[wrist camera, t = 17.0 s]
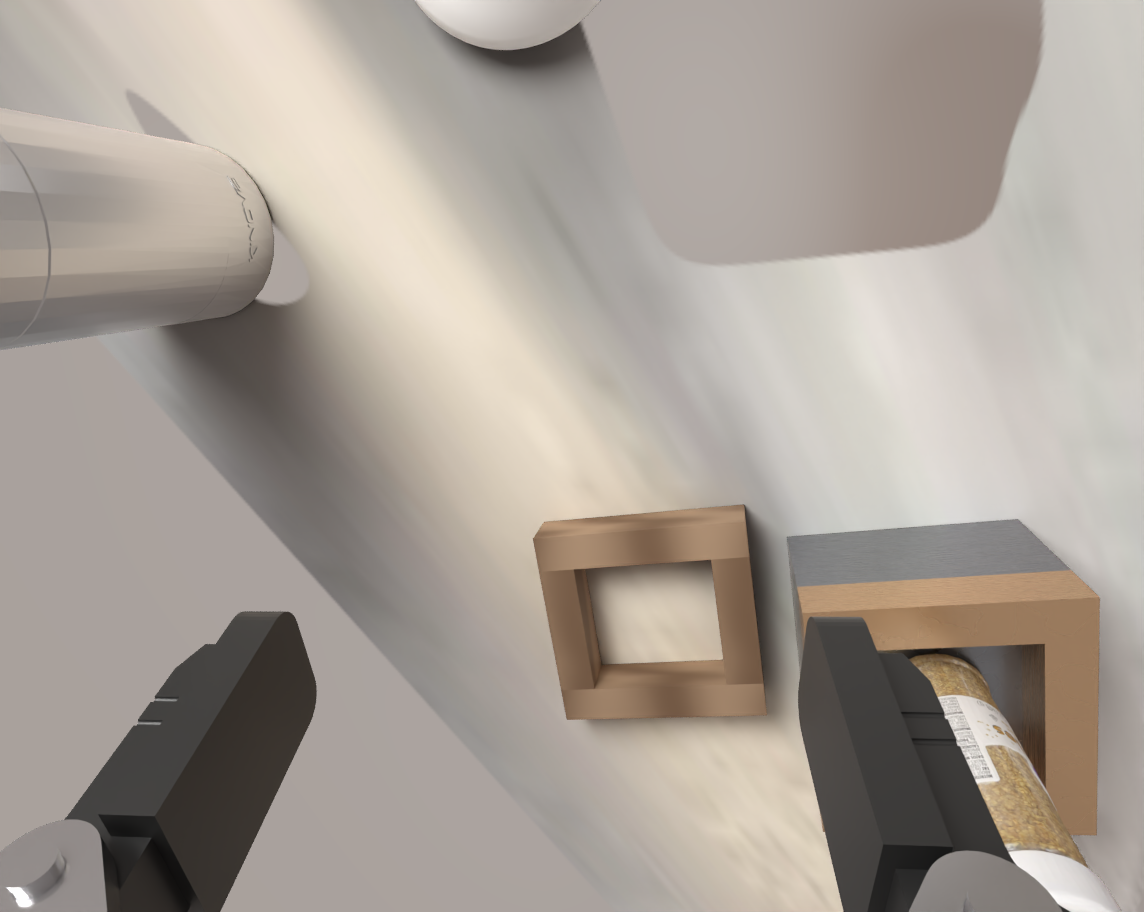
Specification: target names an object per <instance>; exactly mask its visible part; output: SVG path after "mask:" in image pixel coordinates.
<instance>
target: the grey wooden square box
mask: <svg viewBox="0 0 1144 912" xmlns="http://www.w3.org/2000/svg"><path fill="white" fill-rule="evenodd" d="M787 544H788V554H789V564H790V574H791V585H792V595H793V605H794V615H795V626H796V636H797V646H798V656H799V667H800V674H801V666H802V658H803V650H804V642H805V634H806V626H807V621H808V619H809V617H862V618H863V619H864V620H865V622H866V624H867V626H868V629H869V632H870V634H871V637H872V639H873V642H874V644H875V647H876V649H877V652H878V653H903V654H904V655H905V656H906V657H907V658H908V659H910V658H912V657H914V656H919V655H925V654H946V655H951V656H953V657H958V658H960V659H962V660H964V661H965V662H967V663H969V664H970V665H972V666H973V667H974V668H976V669H977V670H978V671H979V672H980V674H981V675H982V676H983V677H984V679H985V680H986V682H987V684H988V686H989V688H990V693H991V696H992V699H993V700H994V702H995V704H996V705H997V707H998V709H999V710H1000V712H1001V714H1002V715H1003V716H1004V717H1005V719H1006V720H1007V722H1008V723H1009V725H1010V727H1011V728H1012V730H1013V732H1014V734H1015V736H1016V737H1017V739H1018V741H1019V743H1020V744H1021V746H1022V748H1023V750H1024V752H1025V753H1026V755H1027V757H1028V758H1029V760H1030V762H1031V763H1032V765H1033V767H1034V769H1035V771H1036V772H1037V774H1038V776H1039V778H1040V780H1041V782H1042V783H1043V785H1044V787H1045V788H1046V790H1047V792H1048V794H1049V796H1050V798H1051V800H1052V802H1053V804H1054V806H1055V808H1056V810H1057V812H1058V814H1059V816H1060V818H1061V820H1062V822H1063V823H1064V825H1065V827H1066V829H1067V830H1068V832H1069V834H1070V835H1097V761H1098V684H1099V606H1100V597H1099V596H1098V595H1097V594H1096V593H1095V592H1094V591H1092V590H1091V589H1090V588H1089V587H1088V586H1087V585H1086V584H1085V583H1084V582H1083V581H1082V580H1081V579H1080V578H1079V577H1078V576H1077V575H1076V574H1075V573H1074V572H1073V571H1071V570H1070V569H1069V568H1068V567H1067V566H1066V565H1065V564H1064V563H1063V562H1062V561H1061V560H1060V559H1059V558H1058V557H1057V556H1056V555H1055V554H1054V553H1053V552H1052V551H1050V550H1049V549H1048V548H1047V547H1046V546H1045V545H1044V544H1043V543H1042V542H1041V541H1040V540H1039V539H1038V538H1037V537H1036V536H1035V535H1034V534H1033V533H1032V532H1031V531H1029V530H1028V529H1027V528H1026V527H1025V526H1024V525H1023V524H1022V523H1021V522H1020V521H1019V520H1018V519H1016V520H1002V521H989V522H976V523H963V524H950V525H937V526H924V527H911V528H898V529H884V530H871V531H858V532H845V533H832V534H819V535H806V536H793V537H787ZM820 816H821V813H820ZM821 822H822V828H823V832H825V830H824V825H823V821H822V817H821Z"/></svg>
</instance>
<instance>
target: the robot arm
mask: <svg viewBox="0 0 1144 912" xmlns="http://www.w3.org/2000/svg"><path fill="white" fill-rule="evenodd" d="M273 254H274V235H273V228H272V222H271V217H270V214H269V212H268V209H267V206H266V203H265V200H264V198H263V197H262V195H261V193H260V191H259V189H258V188H257V186H256V184H255V183H254V181H253V180H252V179H251V178H250V177H249V175H248V174H247V173H246V172H245V170H244V169H243V168H242V167H240V166H239V165H238V164H237V163H236V162H234V161H233V160H232V159H231V158H230V157H228V156H226V155H224V154H223V153H221V152H219V151H217V150H215V149H213V148H210V147H206V146H202V145H198V144H194V143H188V142H183V141H177V140H172V139H166V138H161V137H156V136H151V135H146V134H142V133H136V132H131V131H125V130H120V129H114V128H109V127H103V126H98V125H92V124H87V123H82V122H76V121H71V120H65V119H60V118H54V117H49V116H43V115H38V114H32V113H27V112H21V111H16V110H11V109H5V108H0V350H6V349H12V348H19V347H26V346H32V345H39V344H46V343H52V342H59V341H65V340H72V339H79V338H86V337H93V336H99V335H106V334H113V333H119V332H126V331H133V330H139V329H146V328H153V327H159V326H166V325H175V324H181V323H187V322H194V321H200V320H206V319H212V318H219V317H225V316H229V315H231V314H233V313H236V312H238V311H240V310H242V309H243V308H244V307H246V306H247V305H248V304H250V303H251V302H252V301H253V300H254V299H255V298H256V296H257V295H258V294H259V292H260V291H261V290H262V288H263V287H264V284H265V282H266V280H267V278H268V276H269V274H270V270H271V265H272V261H273V256H274V255H273ZM315 704H316V681H315V677H314V674H313V671H312V668H311V665H310V662H309V658H308V656H307V652H306V649H305V646H304V643H303V640H302V637H301V633H300V630H299V627H298V624H297V621H296V619H295V617H294V615H292V614H291V613H290V612H241V613H239V614H238V615H237V616H235V618H234V619H233V620H232V621H231V623H230V624H229V626H228V627H227V629H226V630H225V631H224V633H223V634H222V636H221V637H220V639H219V640H218V642H217V643H216V644H205V645H204V646H203V647H202V648H200V649H199V650H198V651H196V652H195V653H194V654H193V655H192V656H190V657H189V658H188V659H187V660H185V661H184V662H183V663H182V664H180V665H179V666H178V667H177V668H175V670H174V671H173V672H172V674H171V675H170V676H169V678H168V679H167V681H166V682H165V683H164V685H163V686H162V687H161V689H160V690H159V692H158V693H157V694H156V696H155V701H154V702H150V704H149V705H148V707H147V708H146V710H145V711H144V712H143V713H142V715H141V716H140V718H139V719H138V724H137V726H133V727H132V729H131V730H130V731H129V733H128V734H127V736H126V737H125V738H124V740H123V741H122V742H121V744H120V745H119V746H118V748H117V749H116V751H115V752H114V753H113V755H112V756H111V758H110V759H109V760H108V762H107V763H106V764H105V766H104V767H103V768H102V770H101V771H100V772H99V774H98V775H97V776H96V778H95V779H94V781H93V782H92V783H91V785H90V786H89V787H88V789H87V790H86V792H85V793H84V794H83V796H82V797H81V798H80V800H79V801H78V803H77V804H76V805H75V807H74V808H73V809H72V811H71V812H70V813H69V815H68V816H67V817H66V818H65V820H61V821H56V822H53V823H49V824H46V825H43V826H41V827H39V828H36V829H34V830H32V831H30V832H28V833H26V834H25V835H23V836H21V837H20V838H18V839H17V840H15V841H14V842H12V843H11V844H10V845H8V846H7V847H6V848H4V849H3V850H2V851H1V852H0V912H220V911H221V909H222V907H223V905H224V903H225V900H226V898H227V896H228V894H229V892H230V890H231V888H232V886H233V884H234V881H235V879H236V877H237V875H238V873H239V871H240V869H241V867H242V865H243V863H244V860H245V858H246V856H247V854H248V852H249V850H250V848H251V846H252V844H253V842H254V839H255V837H256V835H257V833H258V831H259V829H260V827H261V825H262V823H263V820H264V818H265V816H266V814H267V812H268V810H269V808H270V806H271V803H272V802H273V800H274V797H275V795H276V793H277V791H278V789H279V787H280V785H281V783H282V781H283V778H284V776H285V774H286V772H287V770H288V768H289V766H290V764H291V762H292V760H293V758H294V755H295V753H296V751H297V749H298V747H299V745H300V742H301V741H302V739H303V736H304V734H305V732H306V730H307V728H308V726H309V724H310V722H311V719H312V717H313V713H314V709H315ZM798 708H799V719H800V726H801V732H802V736H803V741H804V745H805V749H806V753H807V758H808V762H809V766H810V770H811V775H812V779H813V783H814V787H815V792H816V796H817V800H818V804H819V809H820V813H821V817H822V821H823V825H824V830H825V834H826V838H827V842H828V847H829V851H830V855H831V859H832V864H833V868H834V872H835V876H836V881H837V885H838V889H839V893H840V898H841V902H842V906H843V910H844V912H1070V911H1068V910H1067V909H1065V908H1063V907H1062V906H1060V905H1059V904H1057V902H1056V901H1055V899H1054V898H1053V897H1052V896H1051V894H1050V893H1049V892H1048V891H1047V890H1046V889H1045V888H1044V887H1043V886H1042V885H1041V884H1040V883H1039V882H1038V881H1037V880H1036V879H1035V878H1034V877H1032V876H1031V875H1030V874H1028V873H1027V872H1026V871H1024V870H1023V869H1021V868H1020V867H1018V866H1017V865H1016V864H1015V862H1014V861H1013V859H1012V858H1011V856H1010V854H1009V852H1008V850H1007V849H1006V847H1005V844H1004V842H1003V840H1002V838H1001V836H1000V833H999V831H998V829H997V827H996V825H995V822H994V820H993V818H992V816H991V814H990V811H989V809H988V807H987V805H986V803H985V800H984V798H983V796H982V794H981V792H980V789H979V787H978V785H977V783H976V781H975V778H974V776H973V774H972V772H971V770H970V767H969V765H968V763H967V761H966V759H965V756H964V754H963V752H962V750H961V748H960V746H957V739H956V737H955V734H954V732H953V730H952V728H951V726H950V723H949V721H948V719H945V715H944V714H945V712H944V710H943V708H942V706H941V704H940V701H939V699H938V697H937V695H936V693H935V690H934V688H933V686H932V684H931V681H930V680H929V679H928V678H927V677H926V676H925V675H924V674H923V673H922V672H921V671H920V670H919V669H918V668H917V667H916V666H915V665H914V664H913V663H912V662H911V661H910V660H909V659H908V658H907V657H906V656H905V655H904V654H903V653H878V652H877V649H876V647H875V644H874V642H873V639H872V637H871V634H870V632H869V629H868V626H867V624H866V622H865V620H864V619H863V618H862V617H809V619H808V621H807V626H806V634H805V642H804V650H803V658H802V666H801V674H800V682H799V691H798Z"/></svg>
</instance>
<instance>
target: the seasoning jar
mask: <svg viewBox="0 0 1144 912" xmlns="http://www.w3.org/2000/svg"><path fill="white" fill-rule="evenodd" d="M909 660H910V661H911V662H912V663H913V664H914V665H915V666H916V667H917V668H918V669H919V670H920V671H921V672H922V673H923V674H924V675H925V676H926V677H927V678H928V679H929V680H930V681H931V684H932V686H933V688H934V690H935V693H936V695H937V697H938V699H939V701H940V704H941V706H942V708H943V710H944V712H945V714H944V715H945V719H948V721H949V723H950V726H951V728H952V730H953V732H954V734H955V737H956V739H957V746H960V748H961V750H962V752H963V754H964V756H965V759H966V761H967V763H968V765H969V767H970V770H971V772H972V774H973V776H974V778H975V781H976V783H977V785H978V787H979V789H980V792H981V794H982V796H983V798H984V800H985V803H986V805H987V807H988V809H989V811H990V814H991V816H992V818H993V820H994V822H995V825H996V827H997V829H998V831H999V833H1000V836H1001V838H1002V840H1003V842H1004V844H1005V847H1006V849H1007V850H1008V852H1009V854H1010V856H1011V858H1012V859H1013V861H1014V862H1015V864H1016V865H1017V866H1018V867H1020V868H1021V869H1023V870H1024V871H1026V872H1027V873H1028V874H1030V875H1031V876H1032V877H1034V878H1035V879H1036V880H1037V881H1038V882H1039V883H1040V884H1041V885H1042V886H1043V887H1044V888H1045V889H1046V890H1047V891H1048V892H1049V893H1050V894H1051V896H1052V897H1053V898H1054V899H1055V901H1056V902H1057V904H1059V905H1060V906H1062V907H1063V908H1065V909H1067V910H1068V911H1070V912H1122V911H1121V909H1120V907H1119V906H1118V904H1117V902H1116V901H1115V899H1114V897H1113V896H1112V894H1111V892H1110V891H1109V889H1108V888H1107V887H1106V885H1105V884H1104V883H1103V881H1102V880H1101V879H1100V878H1099V877H1098V876H1097V875H1096V874H1095V873H1094V872H1092V871H1091V870H1090V869H1089V868H1088V866H1087V864H1086V862H1085V860H1084V859H1083V857H1082V855H1081V854H1080V852H1079V850H1078V848H1077V846H1076V845H1075V843H1074V842H1073V840H1072V837H1071V836H1070V834H1069V832H1068V830H1067V829H1066V827H1065V825H1064V823H1063V822H1062V820H1061V818H1060V816H1059V814H1058V812H1057V810H1056V808H1055V806H1054V804H1053V802H1052V800H1051V798H1050V796H1049V794H1048V792H1047V790H1046V788H1045V787H1044V785H1043V783H1042V782H1041V780H1040V778H1039V776H1038V774H1037V772H1036V771H1035V769H1034V767H1033V765H1032V763H1031V762H1030V760H1029V758H1028V757H1027V755H1026V753H1025V752H1024V750H1023V748H1022V746H1021V744H1020V743H1019V741H1018V739H1017V737H1016V736H1015V734H1014V732H1013V730H1012V728H1011V727H1010V725H1009V723H1008V722H1007V720H1006V719H1005V717H1004V716H1003V715H1002V714H1001V712H1000V710H999V709H998V707H997V705H996V704H995V702H994V700H993V699H992V696H991V693H990V688H989V686H988V684H987V682H986V680H985V679H984V677H983V676H982V675H981V674H980V672H979V671H978V670H977V669H976V668H974V667H973V666H972V665H970V664H969V663H967V662H965V661H964V660H962V659H960V658H958V657H953V656H951V655H946V654H925V655H919V656H914V657H912V658H910V659H909Z"/></svg>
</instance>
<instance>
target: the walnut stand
mask: <svg viewBox="0 0 1144 912" xmlns="http://www.w3.org/2000/svg"><path fill="white" fill-rule="evenodd" d="M533 541H534V547H535V552H536V557H537V563H538V568H539V574H540V579H541V584H542V590H543V595H544V600H545V606H546V611H547V616H548V622H549V627H550V632H551V638H552V643H553V648H554V654H555V659H556V664H557V670H558V675H559V680H560V686H561V691H562V696H563V702H564V707H565V712H566V718H567V720H577V719H622V718H666V717H710V716H754V715H767V711H766V699H765V688H764V679H763V670H762V661H761V652H760V643H759V634H758V625H757V616H756V607H755V598H754V589H753V580H752V571H751V562H750V553H749V544H748V535H747V526H746V517H745V508H744V505H734V506H723V507H711V508H700V509H688V510H677V511H665V512H654V513H642V514H631V515H620V516H608V517H597V518H585V519H574V520H562V521H551V522H544V523H543V524H542V526H541V527H540V529H539V530H538V532H537V534H536V535H535V537H534V538H533ZM699 560H711V564H712V572H713V580H714V588H715V596H716V604H717V612H718V620H719V628H720V636H721V644H722V652H723V660H709V661H684V662H659V663H634V664H609V665H602V664H601V658H600V653H599V647H598V641H597V635H596V629H595V623H594V617H593V611H592V606H591V600H590V594H589V588H588V582H587V576H586V570H585V569H587V568H601V567H615V566H629V565H643V564H657V563H671V562H685V561H699Z"/></svg>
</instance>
